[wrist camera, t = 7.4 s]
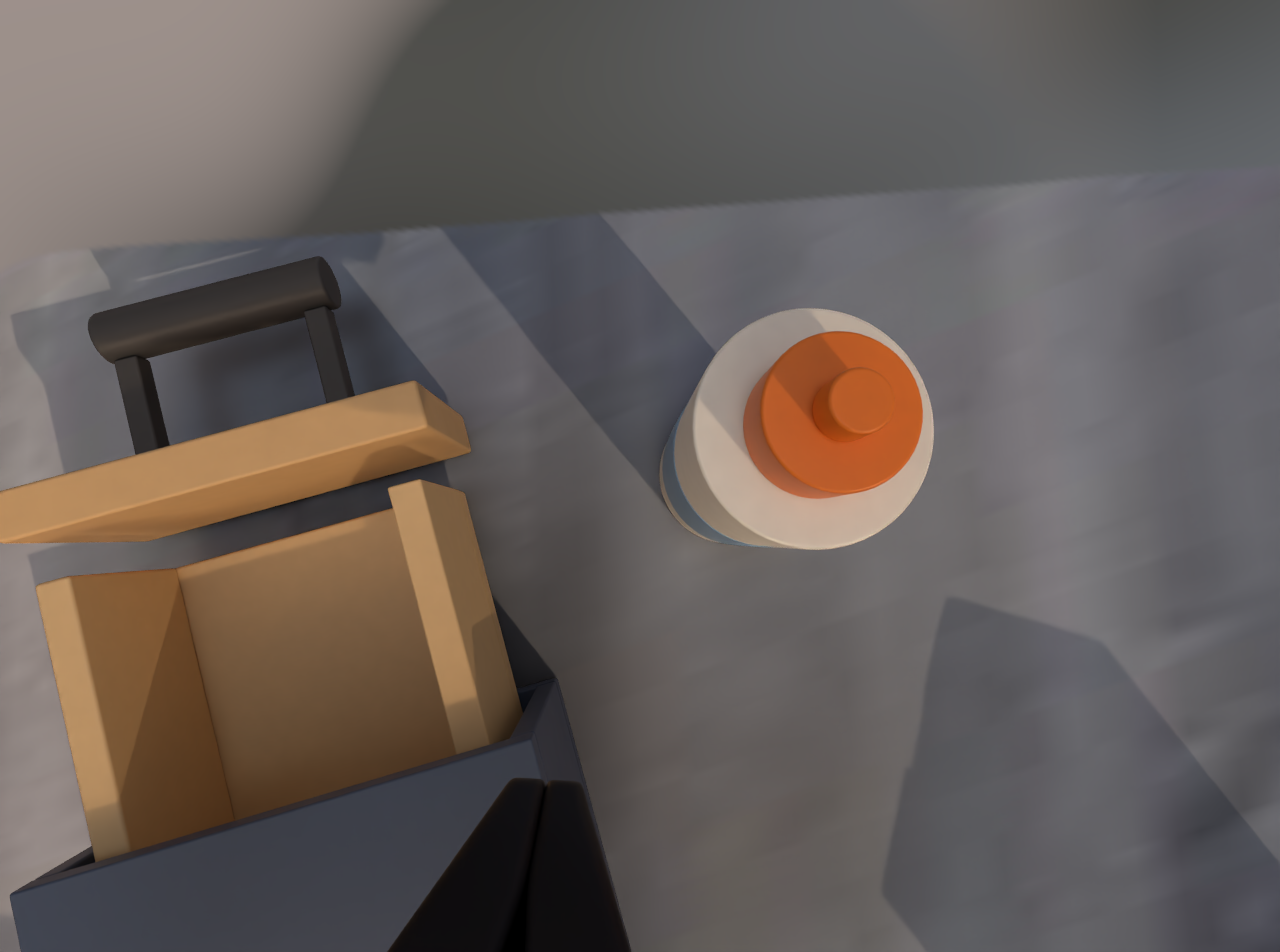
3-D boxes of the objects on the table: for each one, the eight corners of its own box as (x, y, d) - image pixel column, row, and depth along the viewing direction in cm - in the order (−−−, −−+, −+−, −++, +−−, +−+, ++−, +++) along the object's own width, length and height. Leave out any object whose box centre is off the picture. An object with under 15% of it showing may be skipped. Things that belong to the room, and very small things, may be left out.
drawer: (104, 361, 22) (-55, 307, 16) (425, 277, 22) (368, 200, 17) (240, 950, 20) (114, 1090, 15) (578, 846, 21) (565, 947, 16)
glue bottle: (813, 522, 23) (1055, 507, 10) (680, 560, 22) (759, 593, 10) (773, 389, 23) (960, 216, 10) (641, 426, 23) (671, 294, 10)
